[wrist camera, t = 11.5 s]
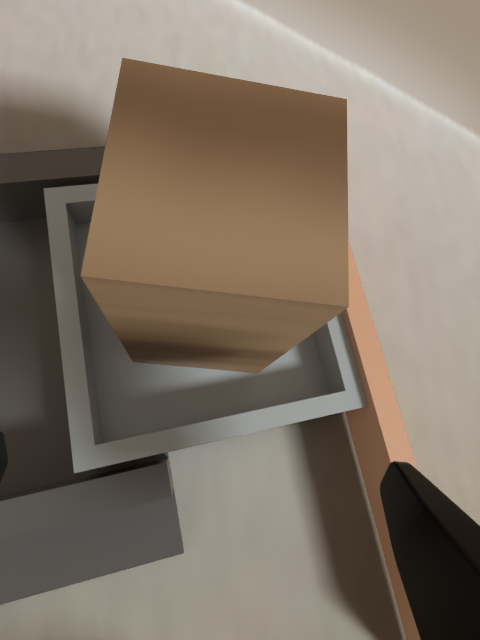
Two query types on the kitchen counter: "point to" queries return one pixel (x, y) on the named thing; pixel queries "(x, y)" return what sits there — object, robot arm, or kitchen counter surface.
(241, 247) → the walnut block
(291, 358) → the tray
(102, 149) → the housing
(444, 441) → the kitchen counter surface
